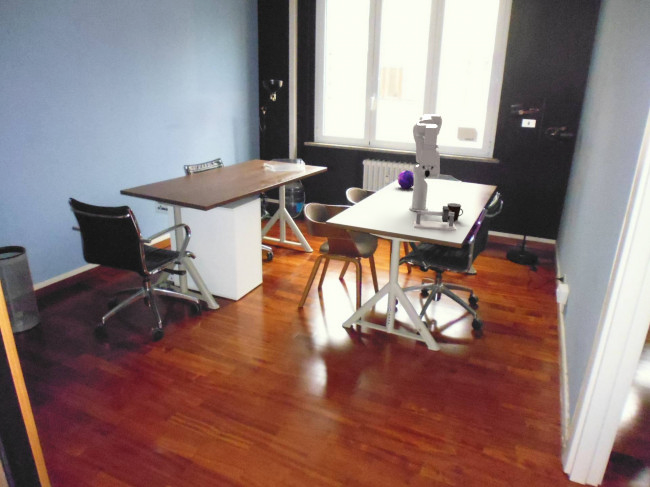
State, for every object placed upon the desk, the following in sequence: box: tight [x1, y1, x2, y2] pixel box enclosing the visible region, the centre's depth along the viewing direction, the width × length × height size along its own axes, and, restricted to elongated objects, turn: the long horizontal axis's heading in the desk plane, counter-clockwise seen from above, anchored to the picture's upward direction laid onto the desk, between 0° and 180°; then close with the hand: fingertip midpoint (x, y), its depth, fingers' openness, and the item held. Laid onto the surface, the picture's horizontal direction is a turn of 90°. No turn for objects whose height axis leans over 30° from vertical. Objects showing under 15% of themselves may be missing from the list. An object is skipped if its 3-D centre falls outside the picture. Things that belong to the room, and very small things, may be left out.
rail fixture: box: [413, 210, 457, 231], centre depth 296 cm, size 13×25×9 cm, turn 80°
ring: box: [441, 205, 449, 222], centre depth 294 cm, size 8×3×8 cm, turn 170°
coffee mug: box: [447, 202, 464, 222], centre depth 308 cm, size 12×9×10 cm
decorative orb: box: [397, 169, 414, 190], centre depth 397 cm, size 15×15×15 cm
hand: (426, 176), depth 296 cm, fingers closed
